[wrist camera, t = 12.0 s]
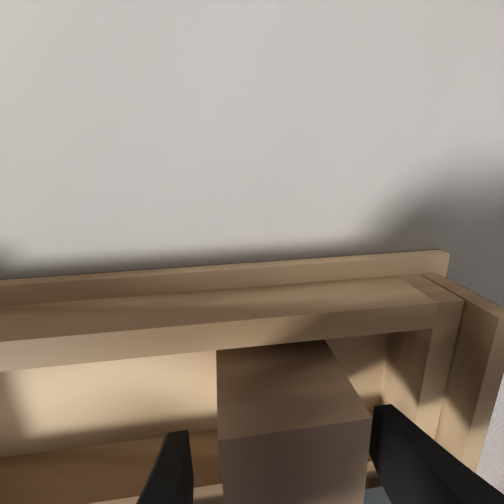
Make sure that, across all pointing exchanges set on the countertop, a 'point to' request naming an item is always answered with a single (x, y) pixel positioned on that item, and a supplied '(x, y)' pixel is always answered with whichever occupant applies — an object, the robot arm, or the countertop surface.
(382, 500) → the lid
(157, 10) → the countertop surface
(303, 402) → the block
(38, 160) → the countertop surface
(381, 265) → the wooden tray
